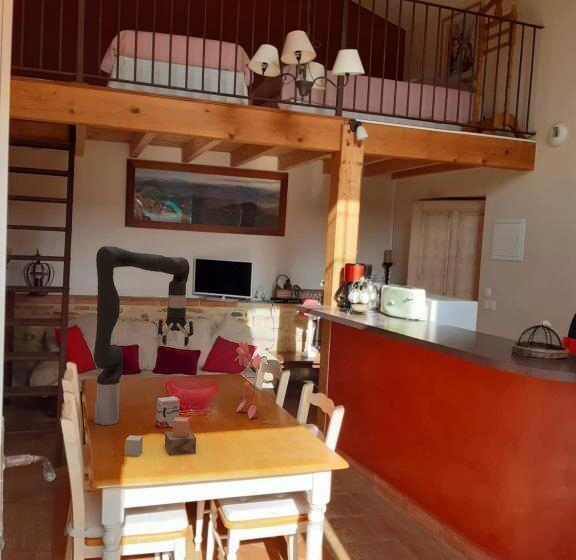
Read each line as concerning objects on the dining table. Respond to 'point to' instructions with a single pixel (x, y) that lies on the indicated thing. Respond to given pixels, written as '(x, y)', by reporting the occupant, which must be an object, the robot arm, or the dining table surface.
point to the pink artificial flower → (243, 359)
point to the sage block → (133, 445)
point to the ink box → (167, 411)
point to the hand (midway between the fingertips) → (175, 345)
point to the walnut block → (180, 443)
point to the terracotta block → (180, 427)
